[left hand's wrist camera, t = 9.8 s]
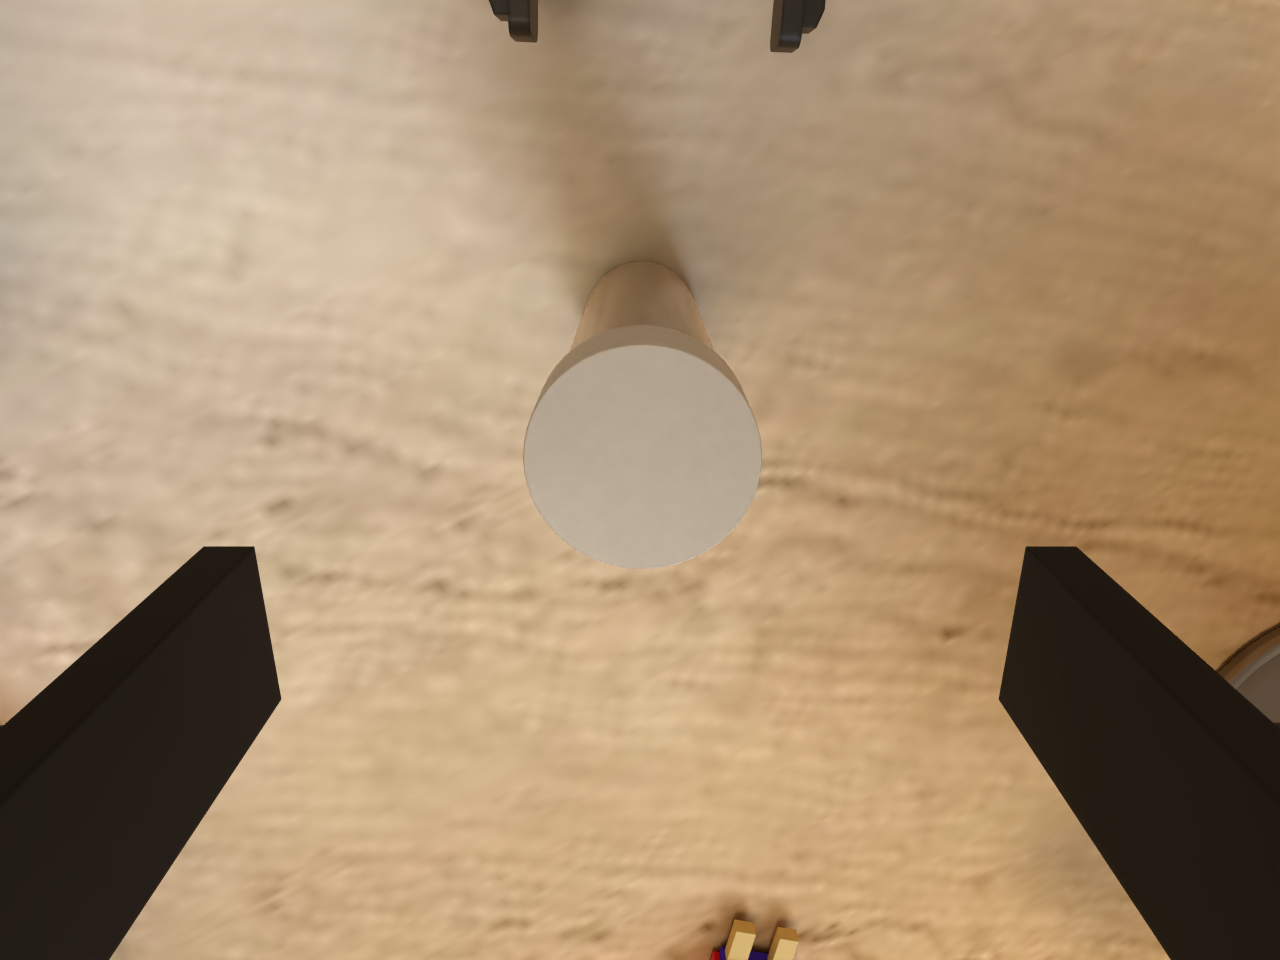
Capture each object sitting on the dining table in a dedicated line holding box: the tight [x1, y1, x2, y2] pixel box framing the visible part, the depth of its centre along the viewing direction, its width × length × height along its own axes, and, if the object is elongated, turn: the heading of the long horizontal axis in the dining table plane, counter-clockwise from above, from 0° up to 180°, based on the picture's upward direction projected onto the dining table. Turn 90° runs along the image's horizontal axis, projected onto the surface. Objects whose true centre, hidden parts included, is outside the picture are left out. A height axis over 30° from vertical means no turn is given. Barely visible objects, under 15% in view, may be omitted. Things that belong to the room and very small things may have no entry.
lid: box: [523, 325, 762, 569], centre depth 21 cm, size 6×6×2 cm
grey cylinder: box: [570, 261, 714, 351], centre depth 29 cm, size 5×5×18 cm
